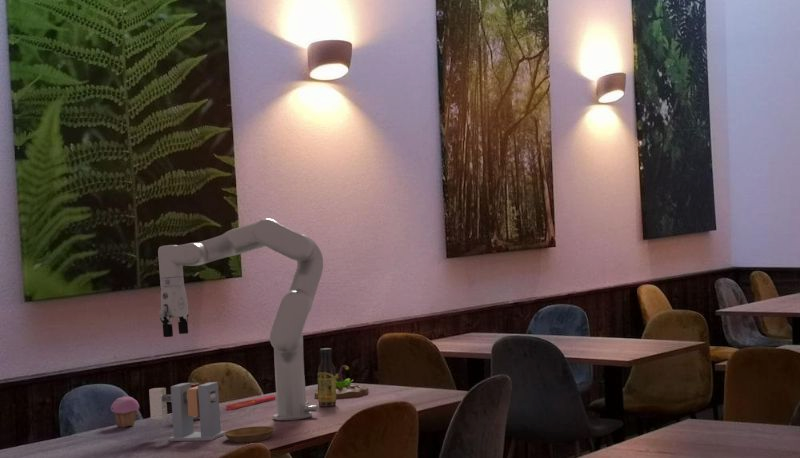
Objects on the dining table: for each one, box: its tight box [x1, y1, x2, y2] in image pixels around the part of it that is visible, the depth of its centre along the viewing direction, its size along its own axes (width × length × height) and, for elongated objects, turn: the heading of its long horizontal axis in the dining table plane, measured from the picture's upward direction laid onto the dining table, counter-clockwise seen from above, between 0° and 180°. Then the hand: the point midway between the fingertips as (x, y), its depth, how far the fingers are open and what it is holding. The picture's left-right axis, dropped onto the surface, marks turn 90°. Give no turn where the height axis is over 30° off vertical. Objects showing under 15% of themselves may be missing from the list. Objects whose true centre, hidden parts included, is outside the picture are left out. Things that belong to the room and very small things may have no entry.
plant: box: [314, 365, 369, 400], centre depth 401 cm, size 20×20×11 cm
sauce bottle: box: [317, 347, 337, 408], centre depth 375 cm, size 7×6×20 cm
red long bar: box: [225, 394, 276, 411], centre depth 390 cm, size 24×2×5 cm
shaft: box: [148, 387, 216, 420], centre depth 328 cm, size 21×3×9 cm, turn 74°
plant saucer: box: [224, 425, 275, 443], centre depth 319 cm, size 15×15×3 cm
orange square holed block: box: [187, 386, 200, 416], centre depth 327 cm, size 3×8×8 cm, turn 164°
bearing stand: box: [168, 381, 227, 442], centre depth 327 cm, size 14×10×16 cm
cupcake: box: [110, 395, 140, 428], centre depth 357 cm, size 9×9×10 cm
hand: (176, 335), depth 354 cm, fingers open, 9 cm apart
